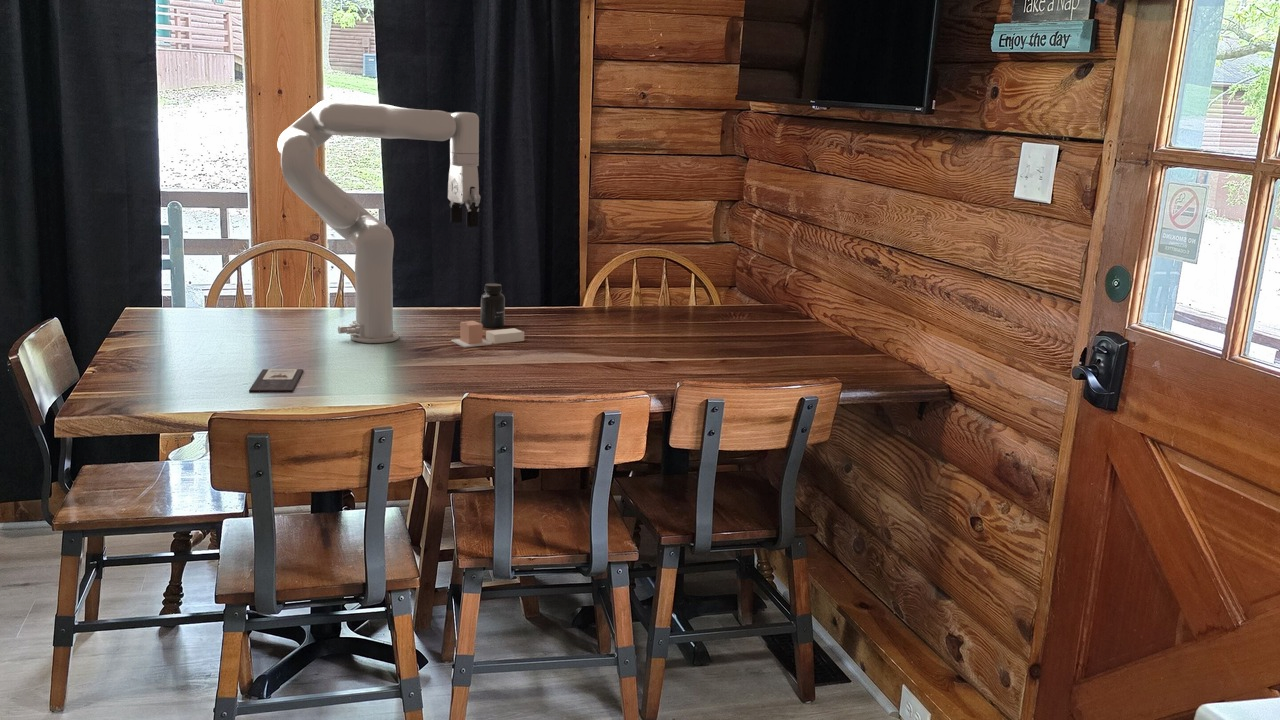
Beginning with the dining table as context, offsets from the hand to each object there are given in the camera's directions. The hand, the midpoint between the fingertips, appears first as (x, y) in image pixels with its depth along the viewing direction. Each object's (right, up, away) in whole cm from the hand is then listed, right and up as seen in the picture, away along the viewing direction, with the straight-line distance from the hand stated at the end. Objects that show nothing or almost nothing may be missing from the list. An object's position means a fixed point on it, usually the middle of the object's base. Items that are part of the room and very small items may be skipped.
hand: (464, 224), depth 283 cm
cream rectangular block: (+11, -31, +2) cm, 33 cm away
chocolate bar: (-34, -42, -47) cm, 72 cm away
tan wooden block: (+2, -32, -3) cm, 32 cm away
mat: (+2, -32, -3) cm, 32 cm away
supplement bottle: (+5, -27, +19) cm, 33 cm away
